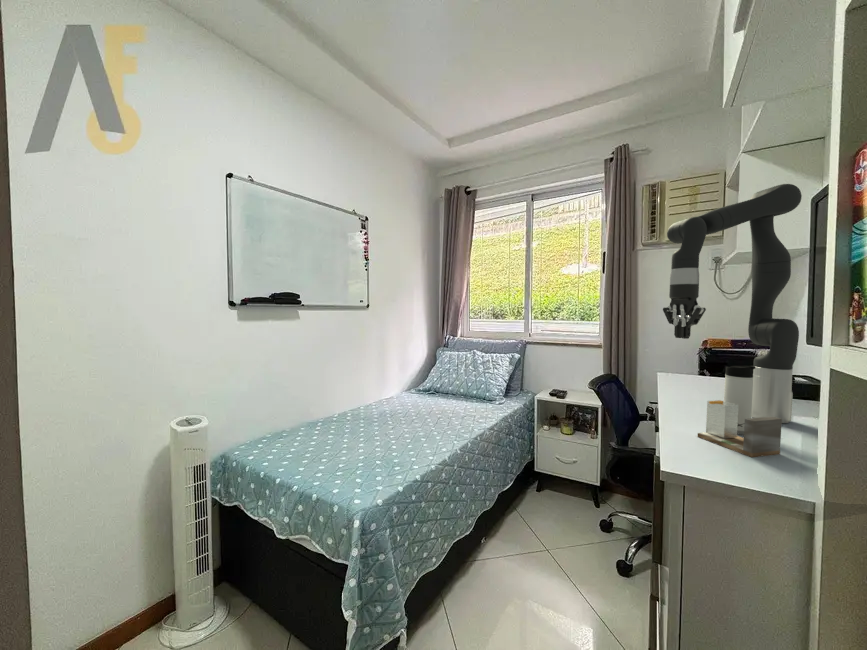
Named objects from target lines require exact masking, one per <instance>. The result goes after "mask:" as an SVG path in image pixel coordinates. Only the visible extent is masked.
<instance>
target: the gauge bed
mask: <svg viewBox="0 0 867 650" xmlns="http://www.w3.org/2000/svg"><path fill="white" fill-rule="evenodd" d="M782 424H783V423H782V419H780V418H776V417H773V416H772V417H759V418H753V417H751V418H747V419H745V423H744V435H743V437H741V436H739V435H737V437H736V438H726V439H723V438H721V437H718V436H715V435H712V434H710V433H707V432H706V431H705V432H704V431H703V432H697V435H696V436H697V437H698V438H701V439H702V440H705V441H708V442H710V443H713V444H716V445H719V446H721V447H723V448H726V449H729V450H731V451H733V452H736V453H739V454H742V455H744V456H747V457H749V458H759V457H767V456H776V455H780V454H781V441H782Z"/></svg>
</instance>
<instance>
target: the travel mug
mask: <svg viewBox="0 0 867 650" xmlns="http://www.w3.org/2000/svg"><path fill="white" fill-rule="evenodd" d="M753 369H755V366H754V365H729V366H725V373H724V376H725V377H724V389H723V390H724V391H723V393H724V394H723V401H725V402H729V403H733V404H737V405H738V425H737V435H738V436H739V435H740V436H744V423H745V419H747V418H752V416H751V413H752V394H753Z"/></svg>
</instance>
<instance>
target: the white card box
mask: <svg viewBox="0 0 867 650" xmlns="http://www.w3.org/2000/svg"><path fill="white" fill-rule="evenodd" d="M737 425H738V405H737V404H733V403H729V402H725V401H724V400H721V399H718V400H717V399H716V400H714V399H713V400H707V401H706V422H705V433H706V432H707V433H710V434H712V435H715V436H718V437H721V438H723V439H726V438H736V437H737V436H738V434H737Z"/></svg>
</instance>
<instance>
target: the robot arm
mask: <svg viewBox="0 0 867 650" xmlns="http://www.w3.org/2000/svg"><path fill="white" fill-rule="evenodd" d="M802 196H803V195H802V192H801V190H800V188H799V187H798V186H796V185H794V184H792V183H783V184H778V185H774V186H772V187H767V188H766V189H763V190H760V191H756V192H755V193H753V194H752V195H751V196H750V199H748V200H744V201H743V200H742V201H740V202H736V203H734V204H729V205H725V206H722V207H719V208H716V209H715V208H714V209H713V210H712V209H711V210H709V211H708V212H705V213H702V214H699V215H698V216H692V217H691V216H690V217H689V218H686V219H681V220H678V221H676V222H673V223H672V224H671V225H670V226H669V227H668V229H667V232H666V237H667V239H668V240H669V241H670V242H672V243H673V244H679V245H680V244H681V245H680V247H679V249H678V250H675V251H674V252H673V253H672V255H671V269H670V277H669V295H668V296H669V299H671V300H670V303H669V305H668V306H667V307H663V308H662V311H663V313H664V316H665V317H666V319H667V322H668V325H669V324H670V325H673V326H674V337H675V338H676V339H686V340H688V339H690V337H691V332H692V331H691V330H692V329H691V328H692V327H693V326H697V325H698V323H700V321H701V319H702V317H703V316H704V314H705V312H706V311H707V308H706V307H701V306H700V305H699V302H698V301H697V299H698V298H699V297H700V295H699V293H700V270H699V269H700V267H699V266H700V253H701V251H702V249H703V246H704V243H705V239H706V237H707V235H708V236H709V235H712V234H716V233H719V232H721V231H725V230H728V229H730V228H733V227H736V226H739V225H741V224H744V223H746V222H749V227H750V228H749V229H750V236H751V302H750V303H751V304H750V312H749V318H748V319H749V320H748V326H747V327H748V330H747V332H748V337H749V339H750V341H751V342H752V344H754V345H757V346H764V347H769V350H768V353H767V354H764V355H759V356H756V357H754V359H753V366H755V369H753V394H752V413H751V418H759V417H772V416H773V417H776V418H780V419H782V424H789V423H790V422H791V421H792V415H793V414H792V413H793V397H794V396H793V395H794V394H793V391H792V387H793V386H792V385H793V367H794V363H795V362H796V360H797V355H798V353H797V352H798V348H799V347H798V345H799V338H800V329H799V326H798V324H797V323H796V322H795V321H794V320H792V319H789V318H775V317H774V318H773V309H774V305H775V302H776V300H777V298H778V296H779V295H780V294H781V292H783V290H784V289H785V287H786V285H787V284H788V283H789V281H790V279H791V275H792V269H791V268H792V259H791V258H792V257H791V254H790V252H789V251H788V249H787V248H786V246H785V245H784V243H782V242H781V240H780V239H779V237H778V236H777V235H776V232H775V226H774V220H775V219H774V217H778V216H781V215H784V214H787V213H790V212H792V211H794V210H795V209H796V208H797V207H798V206H799V205H800V204H801V202H802Z"/></svg>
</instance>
